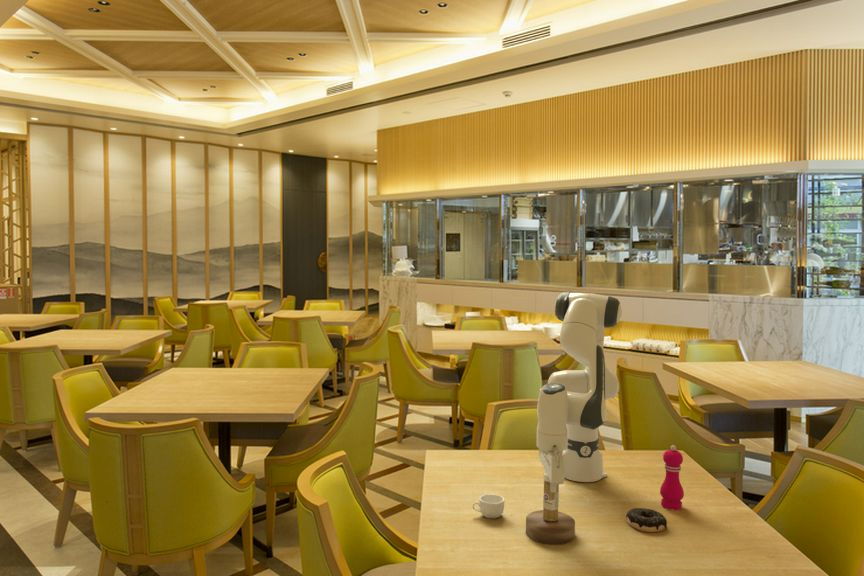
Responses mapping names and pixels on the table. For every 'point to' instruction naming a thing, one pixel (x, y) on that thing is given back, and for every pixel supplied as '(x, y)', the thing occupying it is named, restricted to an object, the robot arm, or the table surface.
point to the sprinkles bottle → (550, 501)
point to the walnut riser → (550, 528)
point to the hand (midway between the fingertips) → (551, 487)
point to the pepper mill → (672, 480)
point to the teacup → (490, 505)
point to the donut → (646, 520)
